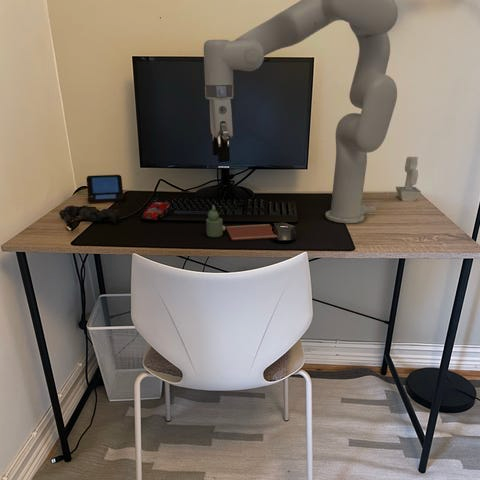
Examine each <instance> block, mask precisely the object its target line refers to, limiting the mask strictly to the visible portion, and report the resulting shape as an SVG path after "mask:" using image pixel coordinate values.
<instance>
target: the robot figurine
mask: <svg viewBox="0 0 480 480" xmlns="http://www.w3.org/2000/svg"><path fill="white" fill-rule="evenodd" d="M58 215H59V217H60V218H61V219H64V222H65V224H66V225H68V226H69V227H72V225H71V222H72V219H73V218H74V219H75V218H77V217H80V218H81V219H83V220H86V221H90V222H100V221H102V220H103V219H109V220H110V221H111V223H112V224H113V225H117V222H120V221H121V220H122V216H121V215H122V214H121V211H120V210H119V209H111V208H104V209H101V210H100V209H99V208H97V207H96V206H90V205H84V204H83V205H81V206H75V205H67V206H65V207H64V209H60V211H59V212H58Z"/></svg>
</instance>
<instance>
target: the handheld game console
mask: <svg viewBox="0 0 480 480" xmlns="http://www.w3.org/2000/svg"><path fill="white" fill-rule="evenodd" d="M122 179H123V177H122V175H120V174H103V175H102V174H99V175H97V174H95V175H87V176H86V188H87V203H89V204H96V203H98V204H99V203H117V202H123V201H125V200H124V199H125V198H124V197H125V196H124V189H123V180H122Z"/></svg>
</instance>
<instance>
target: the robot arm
mask: <svg viewBox="0 0 480 480" xmlns="http://www.w3.org/2000/svg"><path fill="white" fill-rule="evenodd" d="M398 17H399V10H398V6H397V3H396V1H395V0H299V1H297V2H296V3H294V4H291V6H289V7H287V8H286V9H284V10H282V11H280V12H279V13H277V14H275V15H273V16H272V17H271V18H269V19H268V20H266V21H264V22H262V23H260V24H258V25H257V26H255V27H253V28H252V29H250V30H248V31H247V32H245V33H243V34H242V35H240V36H238V37H237V38H235V39H234V40H230V39H229V40H228V39H208V40H206V41H204V43H203V67H204V68H203V69H204V94H205V95H204V96H205V100H209V122H210V133H211V135H212V142H211V144H212V145H211V146H212V155H213V156H217V162H218V163H228V162H230V160H231V158H230V157H231V154H230V140H229V139H232V138H233V137H234V134H233V133H234V132H233V131H234V130H233V115H232V112H233V111H232V103H231V102H232V101H231V100H232V99H234V70H236V71H243V72H253V71H256V70H257V69H259V68H260V67H261V66H262V64H263V62H264V60H265V57H266V56H267V55H270V54H271V53H273V52H276V51H278V50H281V49H285V48H289V47H292V46H293V47H294V45H297V44H300V43H302V42H304V41H305V40H306V39H308V38H310V37H312V36H313V35H314V34H316V33H317V32H319V31H320V30H322V29H324V28H326V27H328V26H330V25H331V24H332V23H334V22H336V21H343V22H346V23H348V24H349V27H350V29H351V31H352V32H353V34H354V36H355V38H356V40H357V42H358V57H357V62H356V66H355V70H354V74H353V78H352V81H351V86H350V90H349V95H348V96H349V101H350V103H351V104H352V105H353V106H354V107H355V108H357V109H360V110H361V111H360V113H358V112H351V113H347V114H345V115H344V116H342V117H341V118H340V120H339V121H338V122H337V125H336V128H335V163H334V173H333V182H332V183H333V184H332V194H331V204H330V210H327V211H326V212H325V213H324V214H325V216H324V217H325V218H326V219H327V220H328V221H330V222H334V223H340V224H357V223H361V222H363V221H364V220H365V217H366V216H365V214H366V213H374V212H375V211H376V206H375V205H368V204H362V202H363V194H364V187H365V186H364V185H365V180H366V173H367V172H366V171H367V164H368V154H367V153H373V152H375V151H376V150H378V149H379V148H380V147H381V146H382V145H383V143H384V141H385V139H386V137H387V134H388V130H389V128H390V125H391V121H392V118H393V114H394V110H395V108H396V103H397V101H398V100H397V99H398V88H397V87H398V86H397V84H396V82H395V80H394V79H393V78H392V77H391V76H389V75H387V69H388V65H389V60H390V55H391V41H390V38H389V34H388V32H390V31H391V30H392V29H393V28H394V27H395V25H396V23H397V20H398Z"/></svg>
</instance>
